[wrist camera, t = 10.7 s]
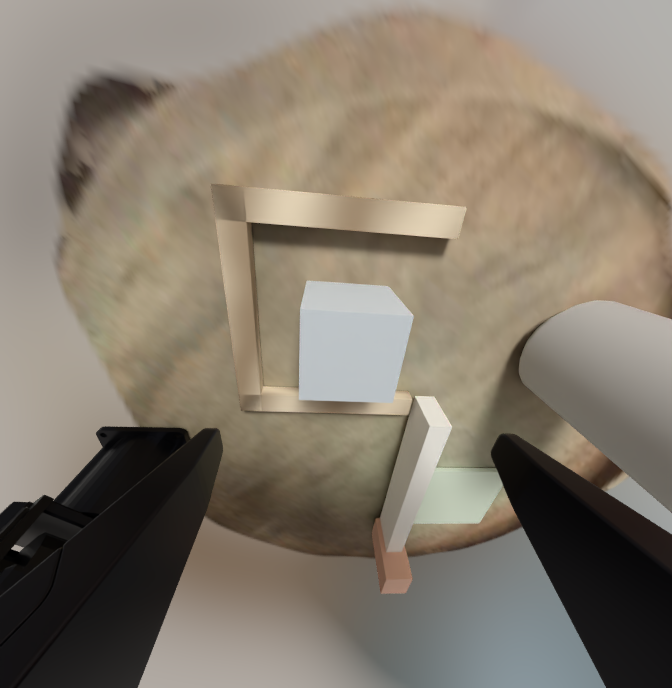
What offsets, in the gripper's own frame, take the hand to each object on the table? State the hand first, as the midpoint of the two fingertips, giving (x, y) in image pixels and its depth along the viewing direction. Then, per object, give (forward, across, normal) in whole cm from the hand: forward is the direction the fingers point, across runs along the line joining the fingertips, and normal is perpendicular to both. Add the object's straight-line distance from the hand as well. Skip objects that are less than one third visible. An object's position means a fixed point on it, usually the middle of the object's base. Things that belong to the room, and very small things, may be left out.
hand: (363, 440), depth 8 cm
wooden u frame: (+10, 0, 0) cm, 10 cm away
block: (+10, 0, 0) cm, 10 cm away
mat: (+10, -13, +19) cm, 25 cm away
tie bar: (+10, -7, +15) cm, 19 cm away
